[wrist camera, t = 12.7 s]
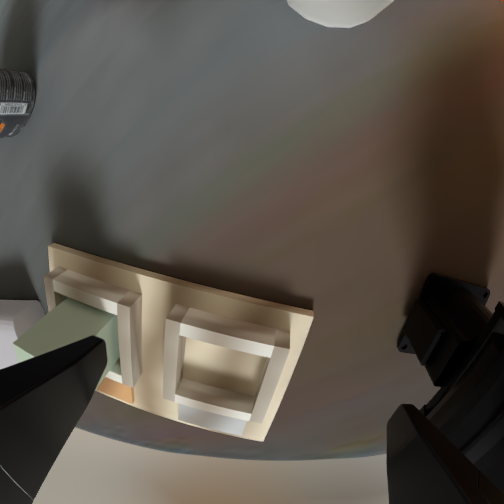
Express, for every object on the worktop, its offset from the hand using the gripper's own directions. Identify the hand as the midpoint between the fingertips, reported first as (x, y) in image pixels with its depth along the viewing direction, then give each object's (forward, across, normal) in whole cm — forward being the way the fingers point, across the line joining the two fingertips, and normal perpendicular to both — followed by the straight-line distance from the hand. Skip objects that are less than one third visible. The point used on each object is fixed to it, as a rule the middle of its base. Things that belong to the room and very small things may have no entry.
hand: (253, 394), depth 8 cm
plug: (+11, +12, +9) cm, 19 cm away
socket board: (+12, +7, +11) cm, 18 cm away
